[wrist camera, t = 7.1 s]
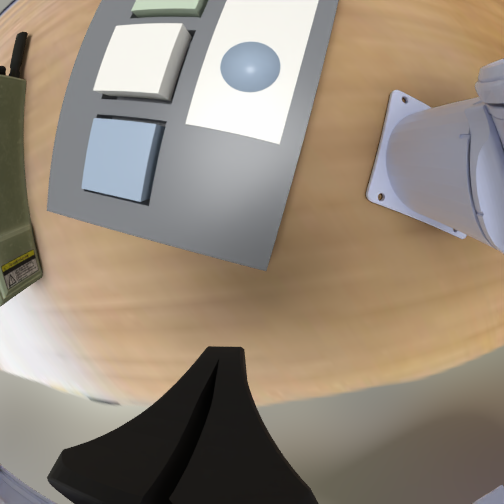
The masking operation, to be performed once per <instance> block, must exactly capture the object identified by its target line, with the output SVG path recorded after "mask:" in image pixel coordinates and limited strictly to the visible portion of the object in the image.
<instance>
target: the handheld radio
mask: <svg viewBox="0 0 504 504" xmlns="http://www.w3.org/2000/svg"><path fill="white" fill-rule="evenodd" d="M27 35H28V33H27V32H21V33H19V34H17V36H16V40H15V45H14V49H13V54H12V59H11V64H10V68H11V70H10V74H9V76H6V73H5V72H6V68H5V67H4V66H0V306H2V305H3V304H5V303H6V302H7V301H9V300H10V299H11V298H13V297H14V296H16V295H17V294H18V293H20V292H21V291H23V290H24V289H26V288H27V287H28V286H30V285H31V284H33V283H34V282H36V281H37V280H39V279H40V278H42V270H41V266H40V262H39V258H38V254H37V250H36V245H35V241H34V236H33V231H32V225H31V220H30V213H29V207H28V199H27V191H26V181H25V169H24V147H23V123H24V102H25V90H26V80H25V79H20V72H19V71H20V66H21V62H22V57H23V52H24V47H25V43H26V39H27Z"/></svg>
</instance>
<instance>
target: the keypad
mask: <svg viewBox="0 0 504 504" xmlns="http://www.w3.org/2000/svg"><path fill="white" fill-rule="evenodd" d="M338 1H339V0H208V2H207V5H206V7H205V9H204V12H203V14H202V17H201V18H199V17H145V18H138V17H137V16H136V15H135V14H134V13H133V12H132V11H131V10H132V8H133V6H134V4H135V2H136V0H102V1H101V3H100V5H99V7H98V9H97V11H96V13H95V15H94V17H93V19H92V21H91V24H90V26H89V28H88V30H87V33H86V35H85V37H84V40H83V42H82V45H81V47H80V50H79V53H78V55H77V58H76V61H75V64H74V67H73V70H72V73H71V76H70V79H69V83H68V86H67V90H66V93H65V97H64V101H63V104H62V109H61V113H60V117H59V122H58V126H57V131H56V137H55V142H54V148H53V155H52V162H51V170H50V178H49V189H48V203H47V211H50V212H53V213H57V214H60V215H63V216H67V217H70V218H74V219H77V220H81V221H84V222H87V223H91V224H94V225H98V226H101V227H105V228H108V229H112V230H115V231H119V232H123V233H126V234H130V235H133V236H137V237H140V238H144V239H148V240H151V241H155V242H159V243H162V244H166V245H169V246H173V247H177V248H180V249H184V250H188V251H192V252H195V253H199V254H203V255H206V256H210V257H214V258H218V259H221V260H225V261H229V262H233V263H237V264H240V265H244V266H248V267H252V268H256V269H260V270H264V271H266V270H267V267H268V264H269V260H270V257H271V253H272V250H273V247H274V243H275V240H276V236H277V233H278V229H279V226H280V222H281V219H282V215H283V212H284V208H285V205H286V201H287V198H288V194H289V191H290V187H291V184H292V180H293V176H294V173H295V169H296V165H297V162H298V158H299V155H300V151H301V147H302V143H303V140H304V136H305V132H306V129H307V125H308V121H309V117H310V114H311V110H312V106H313V102H314V98H315V94H316V90H317V87H318V83H319V79H320V75H321V71H322V67H323V63H324V59H325V55H326V51H327V47H328V43H329V39H330V34H331V30H332V26H333V22H334V18H335V13H336V9H337V5H338ZM149 23H183V25H184V26H185V28H186V29H187V31H188V32H189V34H190V35H191V37H192V38H191V41H190V43H189V46H188V49H187V52H186V55H185V57H184V60H183V63H182V66H181V69H180V72H179V75H178V79H177V82H176V85H175V88H174V92H173V95H172V99H171V101H168V100H159V99H148V98H136V97H119V96H108V95H105V94H102V93H99V92H96V91H93V89H94V85H95V82H96V79H97V75H98V72H99V69H100V66H101V63H102V60H103V58H104V55H105V52H106V50H107V47H108V44H109V42H110V39H111V37H112V34H113V32H114V30H115V27H116V26H119V25H131V24H149ZM94 118H102V119H115V120H125V121H135V122H143V123H151V124H157V125H161V126H164V127H165V131H164V135H163V139H162V143H161V147H160V152H159V156H158V161H157V166H156V171H155V176H154V181H153V186H152V192H151V197H150V199H148V200H145V201H142V202H139V201H134V200H130V199H126V198H121V197H117V196H113V195H108V194H104V193H100V192H95V191H91V190H86V189H82V180H83V172H84V166H85V159H86V153H87V148H88V142H89V137H90V132H91V128H92V123H93V119H94Z"/></svg>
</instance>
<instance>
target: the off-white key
mask: <svg viewBox="0 0 504 504" xmlns="http://www.w3.org/2000/svg"><path fill="white" fill-rule="evenodd" d="M191 38H192V37H191V35H190V34H189V32H188V31H187V29H186V28H185V26H184V25H183V23H149V24H131V25H119V26H116V27H115V30H114V32H113V34H112V37H111V39H110V42H109V44H108V47H107V50H106V52H105V55H104V58H103V60H102V63H101V66H100V69H99V72H98V75H97V79H96V82H95V85H94V89H93V91H96V92H99V93H102V94H105V95H108V96H119V97H136V98H148V99H159V100H168V101H171V99H172V95H173V92H174V88H175V85H176V82H177V79H178V75H179V72H180V69H181V66H182V63H183V60H184V57H185V55H186V52H187V49H188V46H189V43H190V41H191Z"/></svg>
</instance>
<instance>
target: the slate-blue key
mask: <svg viewBox="0 0 504 504" xmlns="http://www.w3.org/2000/svg"><path fill="white" fill-rule="evenodd" d="M164 131H165V127H164V126H161V125H157V124H151V123H143V122H135V121H125V120H115V119H102V118H94V119H93V123H92V128H91V132H90V137H89V142H88V148H87V153H86V159H85V166H84V172H83V180H82V189H86V190H91V191H95V192H100V193H104V194H108V195H113V196H117V197H121V198H126V199H130V200H134V201H139V202H142V201H145V200H148V199H150V197H151V192H152V186H153V181H154V176H155V171H156V166H157V161H158V156H159V152H160V147H161V143H162V139H163V135H164Z"/></svg>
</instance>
